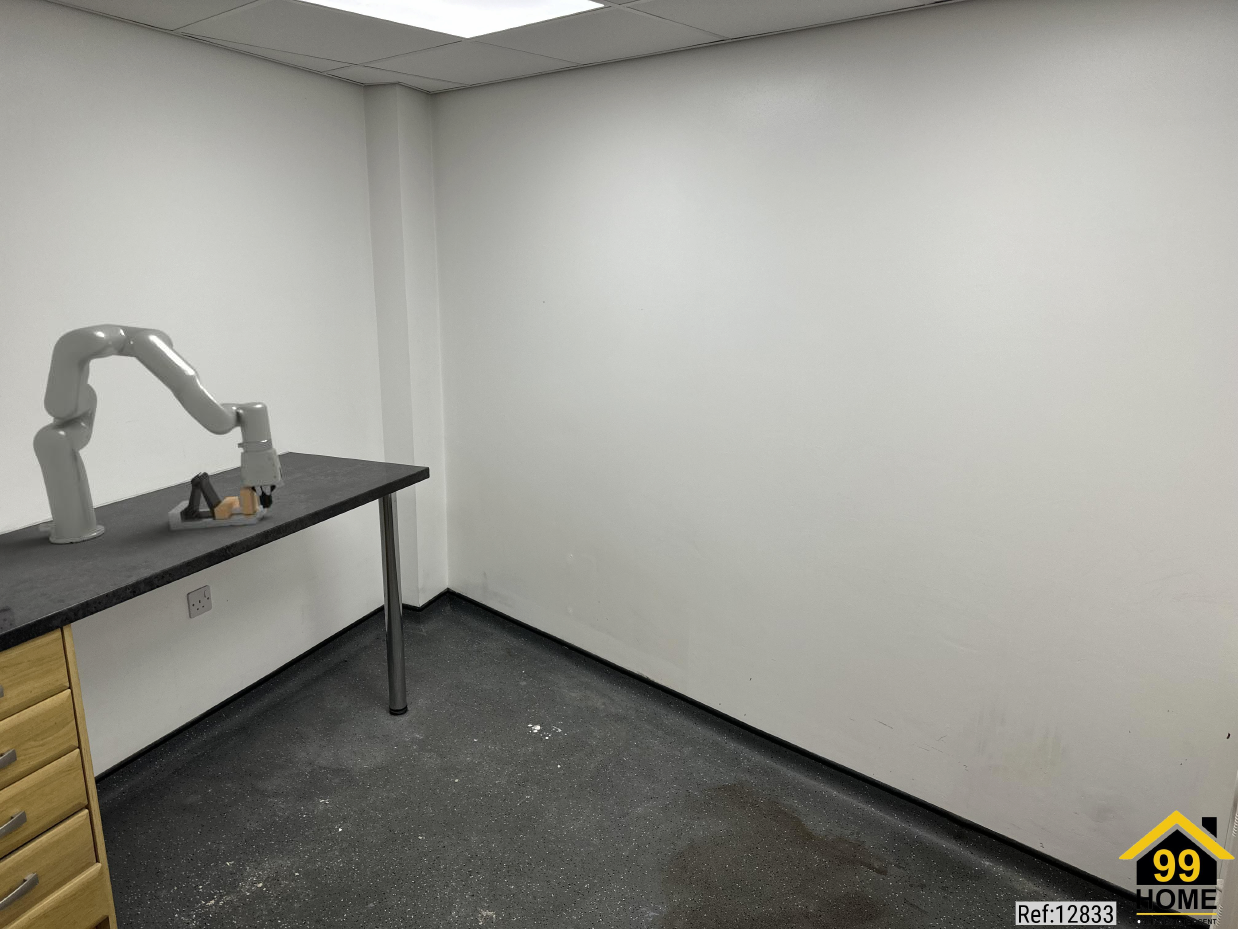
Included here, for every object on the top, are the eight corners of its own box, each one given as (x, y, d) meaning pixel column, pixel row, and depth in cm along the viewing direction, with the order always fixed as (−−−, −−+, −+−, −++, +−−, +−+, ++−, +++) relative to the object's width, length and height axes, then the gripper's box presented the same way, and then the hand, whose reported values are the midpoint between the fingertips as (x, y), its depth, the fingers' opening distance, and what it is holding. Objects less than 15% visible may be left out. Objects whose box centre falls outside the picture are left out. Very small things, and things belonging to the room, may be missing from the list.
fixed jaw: (169, 523, 215) (168, 513, 214) (185, 510, 226) (183, 500, 226) (181, 522, 215) (179, 512, 215) (196, 509, 227) (194, 500, 226)
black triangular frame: (185, 519, 218) (178, 478, 215) (192, 512, 224) (186, 472, 221) (219, 516, 220) (212, 476, 217) (225, 510, 226) (219, 470, 223)
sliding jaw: (215, 519, 217) (212, 495, 215) (228, 506, 228) (225, 484, 227) (249, 516, 218) (246, 493, 217) (260, 504, 230) (257, 481, 228)
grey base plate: (171, 530, 215) (169, 523, 215) (186, 517, 227) (185, 510, 226) (256, 523, 219) (255, 517, 219) (267, 511, 231) (266, 504, 230)
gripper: (226, 450, 215) (236, 513, 220) (282, 447, 218) (291, 509, 222) (233, 444, 222) (243, 505, 227) (288, 441, 225) (296, 501, 229)
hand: (267, 507), depth 225 cm, fingers closed
